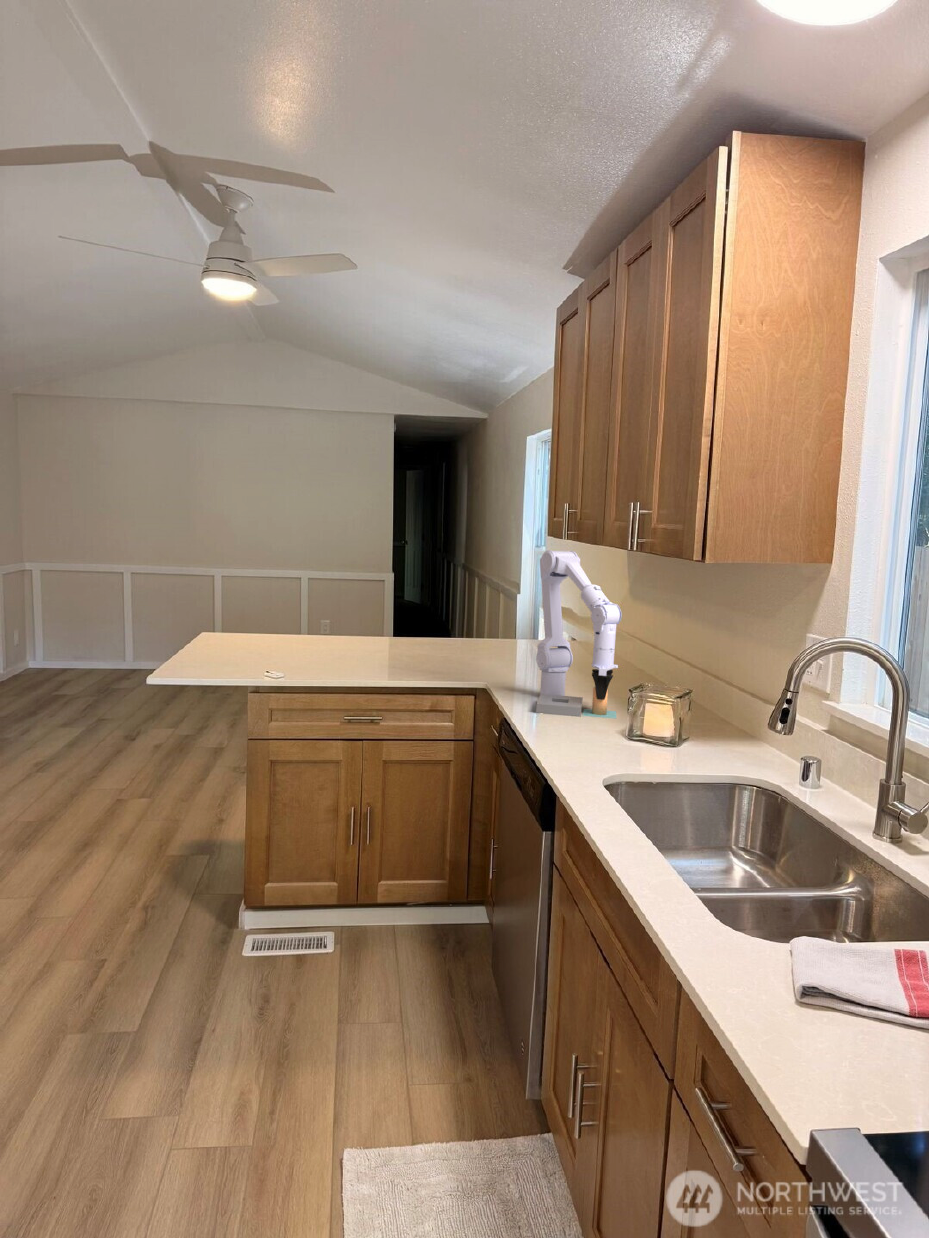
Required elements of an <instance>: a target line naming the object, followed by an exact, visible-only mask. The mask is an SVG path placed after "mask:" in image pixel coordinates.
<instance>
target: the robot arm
mask: <svg viewBox="0 0 929 1238" xmlns="http://www.w3.org/2000/svg"><path fill="white" fill-rule="evenodd" d="M539 566H540V567H539V568H540V571H539V572H540V579H541V593H542V594H541V595H542V611H543V612H542V613H543V625H544V626H543V627H544V628H543V629H544V638H543V639H542V640H541V641H540V642H539V643H538V644H537V652H536V656H535V660H536V665H537V667H538V668H539V671H541V673H540V687H539V689H540V690H539V695H540V694H547V695H559V696H566V695H565V694H566V680H567V679H566V676H567V672H569V668H571V666H572V665H573V662H574V656H573V653H572V649H571V644H570V642H569V641H568V640H567V639H566V638H565V637H564V631H563V630H564V629H563V615H562V613H563V612H562V597H561V583H562V582H563V581H564V580H565V579H567V578H569V579H570V580H571V581H572V582H573V583H574V584H575V586H576V587H577V588H578V589H579V590H580V598H581V600H582V601H583V603H584V604H585V606H586V607H587V608H588V610H590V619H591V620H590V621H591V622H592V629H593V632H594V635H593V648H592V651H593V652H592V663H591V667H592V668H593V669H592V670H591V671H592V672H591V677H592V680H593V682H594V687H595V688H596V697H597V699H601V700H605V697H606V693H607V689H608V690H609V684H610V682H611V680H612V679H613V677H614V675H613V672H614V671H613V669H618V668H619V665H618V664H614V662H615V653H616V652H615V649H616V637H617V636H616V635H617V625H619V623H620V622H621V621H622V617H623V614H622V610H621V608H620V606H619V604H616V603H613V602H611V601H610V600H609V598H608V597H607V596H606V595H605V594H604V592H603V591H602V588H601V586H600V585H597V584H593V583H591V581H590V579H589V578H588V576H587V574H586V572H585V571H584V569H583V568H582V566H581V558H580V557H579V556H578V554H577V552H575V551H573V550H569V551H567V550H551V549H549V550H545V551H544V553H543V554H542V556H541V557H540V558H539ZM551 647H554V648H551Z"/></svg>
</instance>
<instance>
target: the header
mask: <svg viewBox="0 0 929 1238" xmlns="http://www.w3.org/2000/svg"><path fill="white" fill-rule="evenodd" d="M582 710H583V697H582V696H570V695H565V696H559V695H547V694H540V693H539V696H538V699H537V702H536V708H535V713H536V714H540V713H543V715H553V716H564V717H565V716H567V717H576V718H577V717H579V718H581V716H582V712H583V711H582Z"/></svg>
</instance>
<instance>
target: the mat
mask: <svg viewBox="0 0 929 1238" xmlns="http://www.w3.org/2000/svg"><path fill="white" fill-rule="evenodd" d="M582 710H583V711H582V716H583V717H593V718H603V719H604V718H605V719H617V711H616V710H615V711H614V710H607V714H606V715H595V714H593V713H592V708H582Z"/></svg>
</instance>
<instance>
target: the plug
mask: <svg viewBox="0 0 929 1238" xmlns="http://www.w3.org/2000/svg"><path fill="white" fill-rule="evenodd" d="M608 691H609V688H608V689H607V693H606V697H605V700H601V699H597V697H596V688H595V686H593V687H592V701H591V703H592V706H591V707H592V708H591V709H592V713H593V714H595V715H606V714H607V711H608V696H609V695H608V694H609V693H608Z"/></svg>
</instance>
